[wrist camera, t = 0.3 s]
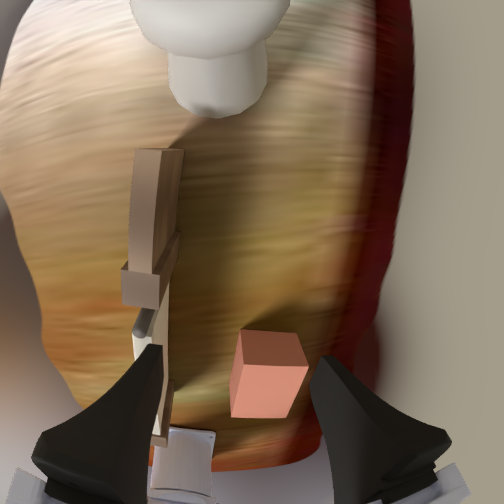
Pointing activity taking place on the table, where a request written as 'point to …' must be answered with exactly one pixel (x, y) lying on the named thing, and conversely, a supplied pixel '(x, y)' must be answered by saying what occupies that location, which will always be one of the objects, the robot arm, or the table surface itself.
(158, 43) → the salt shaker
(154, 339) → the door
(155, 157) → the frame
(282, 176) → the table surface
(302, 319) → the table surface
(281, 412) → the block
